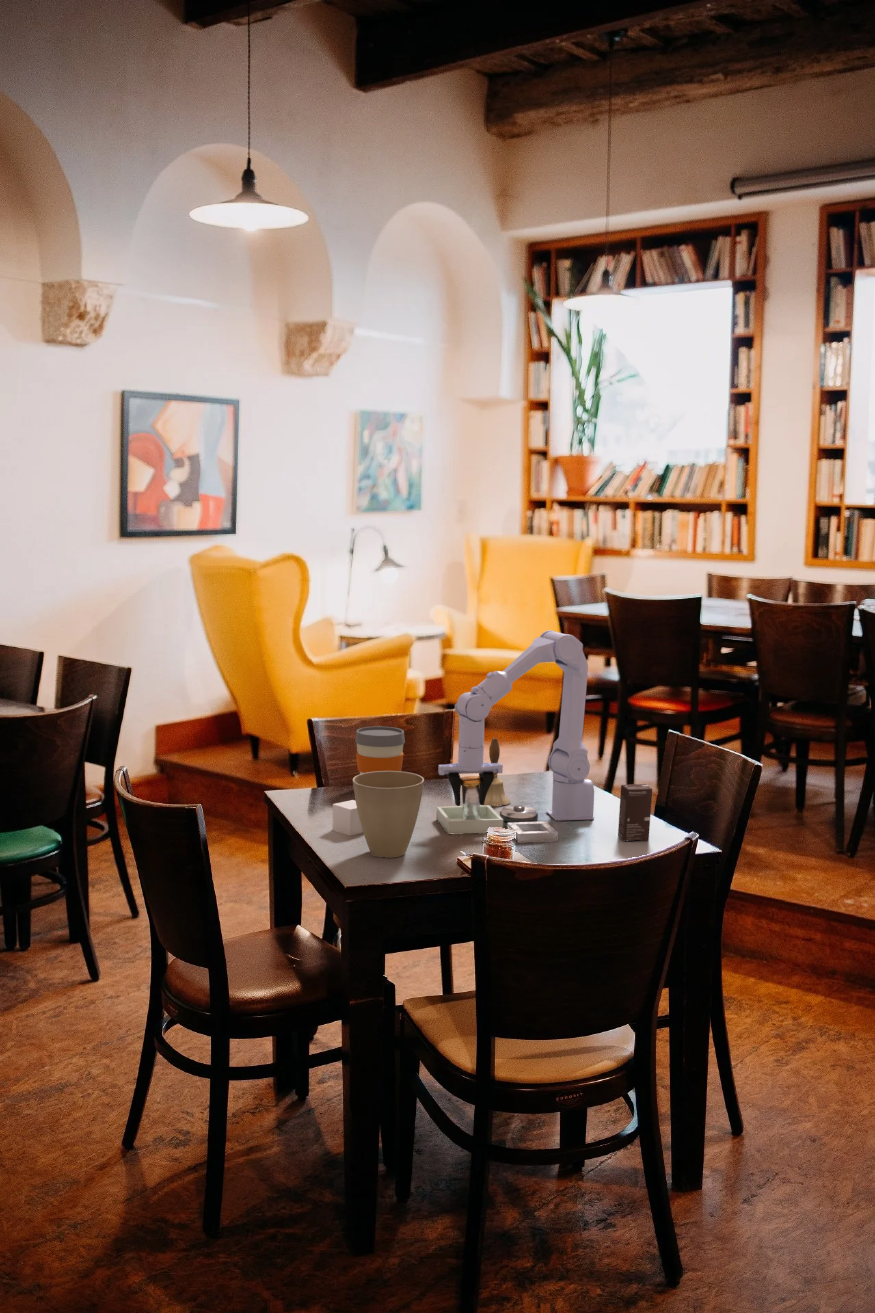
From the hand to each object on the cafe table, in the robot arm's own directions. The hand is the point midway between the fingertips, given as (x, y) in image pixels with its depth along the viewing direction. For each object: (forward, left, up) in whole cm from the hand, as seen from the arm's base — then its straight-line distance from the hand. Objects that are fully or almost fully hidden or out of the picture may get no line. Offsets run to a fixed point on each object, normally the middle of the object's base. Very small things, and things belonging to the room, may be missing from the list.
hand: (469, 804), depth 279 cm
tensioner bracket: (-12, +5, -5) cm, 14 cm away
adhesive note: (+27, 0, -5) cm, 28 cm away
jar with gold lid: (0, +1, -3) cm, 3 cm away
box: (-34, +15, -5) cm, 38 cm away
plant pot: (+22, +18, -5) cm, 29 cm away
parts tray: (0, 0, -5) cm, 5 cm away
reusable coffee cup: (+15, -36, -5) cm, 40 cm away
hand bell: (-11, -20, -5) cm, 23 cm away
